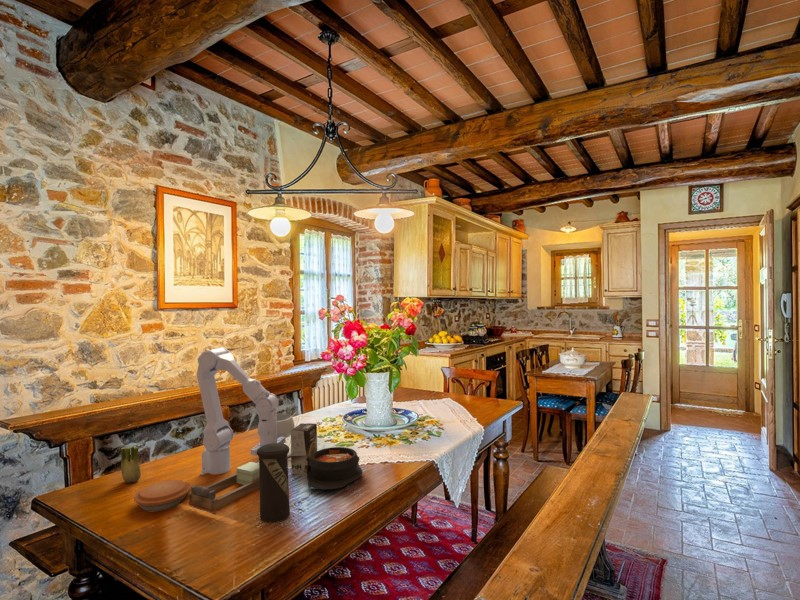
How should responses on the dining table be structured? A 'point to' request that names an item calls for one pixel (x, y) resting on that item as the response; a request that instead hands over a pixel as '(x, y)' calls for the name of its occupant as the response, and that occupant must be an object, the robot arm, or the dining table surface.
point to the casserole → (333, 468)
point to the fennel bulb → (130, 464)
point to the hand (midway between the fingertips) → (269, 469)
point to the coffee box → (303, 447)
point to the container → (274, 482)
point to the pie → (162, 495)
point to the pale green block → (247, 473)
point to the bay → (207, 494)
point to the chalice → (283, 426)
